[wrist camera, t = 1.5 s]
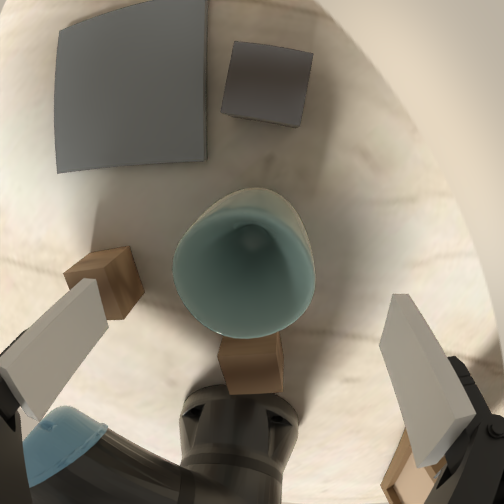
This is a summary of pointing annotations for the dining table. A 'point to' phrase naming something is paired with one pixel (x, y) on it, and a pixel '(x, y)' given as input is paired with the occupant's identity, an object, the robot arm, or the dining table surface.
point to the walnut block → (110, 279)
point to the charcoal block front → (267, 83)
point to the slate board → (132, 87)
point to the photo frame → (409, 476)
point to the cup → (246, 265)
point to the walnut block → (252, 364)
